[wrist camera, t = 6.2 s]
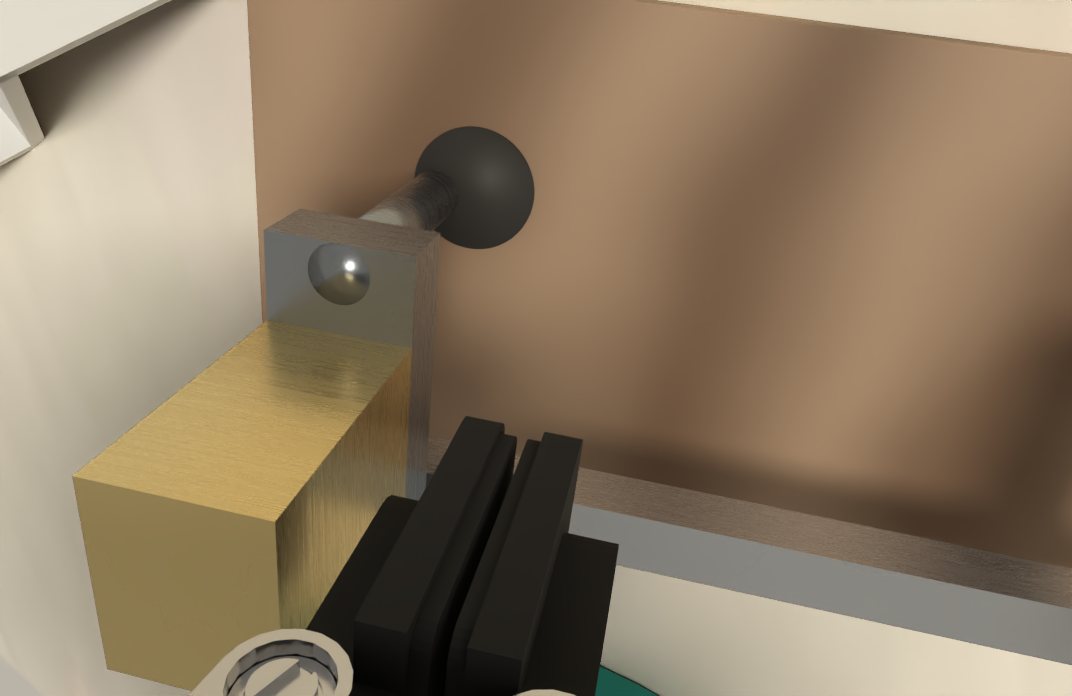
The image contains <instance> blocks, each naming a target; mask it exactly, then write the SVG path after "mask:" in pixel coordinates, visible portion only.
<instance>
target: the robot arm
mask: <svg viewBox="0 0 1072 696" xmlns="http://www.w3.org/2000/svg"><path fill="white" fill-rule="evenodd" d="M582 445H583V439H579V438H574V437H569V436H564V435H559V434H554V433H549V432H544V434H543V437H542V440H541V441H537V440H532V439H527V441H526V444H525V446H524V449H523V452H522V454H521V457H520V459H519V462H518V465H517V467H516V470H515V472H514V464H515V455H516V447H517V437H516V436H512V435H507V434H505V425H504V423H500V422H495V421H490V420H485V419H480V418H475V417H470V416H465V418H464V419H463V420H462V422H461V424H460V426H459V428H458V430H457V432H456V433H455V435H454V437H453V439H452V441H451V443H450V444H449V446H448V448H447V450H446V452H445V454H444V455H443V457H442V459H441V461H440V463H439V465H438V466H437V468H436V470H435V472H434V474H433V476H432V477H431V479H430V481H429V483H428V485H427V487H426V489H425V490H424V492H423V494H422V496H421V498H420V500H419V501H418V500H413V499H409V498H404V497H399V496H395V495H390V496H388V497H387V498H386V499H385V501H384V502H383V503H382V505H381V506H380V508H379V510H378V511H377V513H376V515H375V516H374V518H373V520H372V521H371V523H370V525H369V526H368V528H367V529H366V531H365V533H364V534H363V536H362V538H361V539H360V541H359V543H358V544H357V546H356V548H355V549H354V551H353V553H352V554H351V556H350V557H349V559H348V561H347V562H346V564H345V566H344V567H343V569H342V571H341V572H340V574H339V576H338V577H337V579H336V580H335V582H334V584H333V585H332V587H331V589H330V590H329V592H328V594H327V595H326V597H325V599H324V600H323V602H322V603H321V605H320V607H319V608H318V610H317V612H316V613H315V615H314V617H313V618H312V620H311V622H310V623H309V625H308V626H307V628H306V630H305V629H280V630H275V631H271V632H267V633H263V634H259V635H257V636H255V637H253V638H251V639H249V640H247V641H245V642H243V643H241V644H239V645H238V646H237V647H236V648H235V649H233V650H232V651H231V652H230V653H229V654H227V655H226V656H225V657H224V658H223V659H222V660H221V661H220V662H219V663H218V664H217V665H216V666H215V667H214V668H213V670H212V671H211V672H210V673H209V674H208V675H207V676H206V677H205V678H204V679H203V680H202V681H201V682H200V684H199V685H198V686H197V687H196V688H195V689H194V690H193V691H192V692H191V693H190V694H189V695H188V696H595V693H596V687H597V680H598V674H599V668H600V662H601V655H602V649H603V643H604V637H605V630H606V624H607V618H608V612H609V605H610V599H611V593H612V587H613V580H614V574H615V568H616V562H617V555H618V549H619V544H616V543H611V542H607V541H602V540H598V539H593V538H588V537H584V536H579V535H575V534H570V533H568V532H569V526H570V519H571V513H572V507H573V501H574V495H575V489H576V483H577V477H578V470H579V464H580V458H581V452H582ZM513 472H514V475H513Z"/></svg>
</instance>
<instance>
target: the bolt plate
mask: <svg viewBox="0 0 1072 696" xmlns="http://www.w3.org/2000/svg"><path fill="white" fill-rule="evenodd" d="M247 7H248V28H249V49H250V69H251V90H252V111H253V132H254V153H255V174H256V194H257V215H258V236H259V257H260V278H261V299H262V320H263V323H264V322H266V321H267V299H266V277H265V255H264V232H263V230H264V229H266V228H268V227H269V226H271V225H273V224H274V223H276V222H278V221H279V220H281V219H283V218H284V217H286V216H288V215H290V214H291V213H293V212H295V211H296V210H298V209H306V210H311V211H317V212H323V213H329V214H335V215H341V216H346V217H352V218H360V217H361V216H363V215H364V214H365V213H367V212H368V211H369V210H371V209H372V208H374V207H375V206H376V205H378V204H379V203H381V202H382V201H383V200H385V199H386V198H388V197H389V196H390V195H392V194H393V193H395V192H396V191H397V190H399V189H400V188H402V187H403V186H404V185H406V184H407V183H408V182H410V181H411V180H413V179H414V178H415V177H417V176H418V175H420V174H421V173H423V172H426V171H438V172H441V173H443V174H445V175H446V176H448V177H449V178H450V179H451V180H452V182H453V183H454V185H455V186H456V189H457V192H458V203H457V206H456V208H455V210H454V211H453V213H452V214H451V215H449V216H448V217H447V218H446V219H445V220H444V221H443V222H442V223H441V224H440V225H439V226H438V227H437V228H436V229H435V230H434V232H440V233H441V234H440V251H439V268H438V285H437V303H436V320H435V337H434V355H433V372H432V389H431V406H430V424H429V441H428V458H427V475H426V487H427V485H428V483H429V481H430V479H431V477H432V476H433V474H434V472H435V470H436V468H437V466H438V465H439V463H440V461H441V459H442V457H443V455H444V454H445V452H446V450H447V448H448V446H449V444H450V443H451V441H452V439H453V437H454V435H455V433H456V432H457V430H458V428H459V426H460V424H461V422H462V420H463V419H464V418H465V416H470V417H475V418H480V419H485V420H490V421H495V422H500V423H504V425H505V434H507V435H512V436H516V437H517V447H516V455H515V464H514V472H515V470H516V467H517V465H518V462H519V459H520V457H521V454H522V452H523V449H524V446H525V444H526V441H527V439H532V440H537V441H541V440H542V437H543V434H544V432H549V433H554V434H559V435H564V436H569V437H574V438H579V439H583V445H582V452H581V458H580V464H579V470H578V477H577V483H576V489H575V495H574V501H573V507H572V513H571V519H570V526H569V532H568V533H570V534H575V535H579V536H584V537H588V538H593V539H598V540H602V541H607V542H611V543H616V544H619V549H618V555H617V562H616V565H619V566H624V567H629V568H633V569H638V570H642V571H647V572H651V573H656V574H660V575H665V576H669V577H674V578H678V579H683V580H688V581H692V582H697V583H701V584H706V585H710V586H715V587H719V588H724V589H728V590H733V591H737V592H742V593H747V594H751V595H756V596H760V597H765V598H769V599H774V600H778V601H783V602H787V603H792V604H796V605H801V606H806V607H810V608H815V609H819V610H824V611H828V612H833V613H837V614H842V615H846V616H851V617H855V618H860V619H865V620H869V621H874V622H878V623H883V624H887V625H892V626H896V627H901V628H905V629H910V630H914V631H919V632H924V633H928V634H933V635H937V636H942V637H946V638H951V639H955V640H960V641H964V642H969V643H973V644H978V645H983V646H987V647H992V648H996V649H1001V650H1005V651H1010V652H1014V653H1019V654H1023V655H1028V656H1033V657H1037V658H1042V659H1046V660H1051V661H1055V662H1060V663H1064V664H1069V665H1072V54H1069V53H1061V52H1054V51H1046V50H1038V49H1030V48H1023V47H1015V46H1007V45H999V44H992V43H984V42H976V41H968V40H960V39H953V38H945V37H937V36H929V35H922V34H914V33H906V32H898V31H891V30H883V29H875V28H867V27H859V26H852V25H844V24H836V23H828V22H821V21H813V20H805V19H797V18H790V17H782V16H774V15H766V14H758V13H751V12H743V11H735V10H727V9H720V8H712V7H704V6H696V5H689V4H681V3H673V2H665V1H657V0H247ZM514 472H513V475H514Z"/></svg>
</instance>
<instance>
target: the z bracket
mask: <svg viewBox="0 0 1072 696" xmlns="http://www.w3.org/2000/svg"><path fill="white" fill-rule="evenodd" d="M169 1H171V0H0V166H2V165H3V164H5V163H7V162H9V161H11V160H13V159H15V158H17V157H19V156H21V155H22V154H24V153H26V152H28V151H30V150H32V149H33V148H34V147H35V146H37V145H38V144H39V143H40V142H41V141H43V140H44V139H45V138H44V135H43V133H42V131H41V128H40V126H39V124H38V121H37V119H36V116H35V114H34V112H33V109H32V107H31V104H30V102H29V100H28V97H27V95H26V93H25V90H24V88H23V85H22V83H21V81H20V78H19V76H18V75H20V74H22V73H24V72H26V71H28V70H30V69H32V68H34V67H36V66H38V65H40V64H42V63H44V62H46V61H48V60H50V59H52V58H54V57H56V56H58V55H61V54H63V53H65V52H67V51H69V50H71V49H73V48H75V47H77V46H79V45H81V44H83V43H85V42H87V41H89V40H91V39H93V38H95V37H97V36H99V35H102V34H104V33H106V32H108V31H110V30H112V29H114V28H116V27H118V26H120V25H122V24H124V23H126V22H128V21H130V20H132V19H134V18H136V17H138V16H140V15H142V14H145V13H147V12H149V11H151V10H153V9H155V8H157V7H159V6H161V5H163V4H165V3H167V2H169Z"/></svg>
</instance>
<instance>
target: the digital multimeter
mask: <svg viewBox="0 0 1072 696" xmlns="http://www.w3.org/2000/svg"><path fill="white" fill-rule="evenodd" d="M595 696H658V695H656V694H654V693H652V692H651V691H649V690H647V689H645V688H643V687H642V686H640V685H638V684H636V683H634V682H632V681H630V680H628V679H626V678H624V677H621V676H619V675H617V674H615V673H613V672H611V671H609V670H607V669H605V668H603V667H601V666H600V668H599V674H598V680H597V687H596V693H595Z"/></svg>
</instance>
